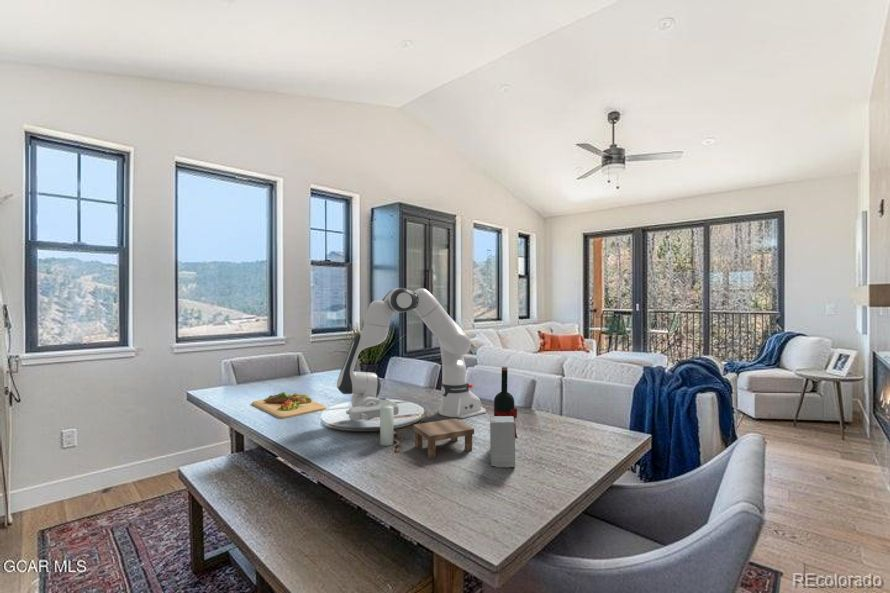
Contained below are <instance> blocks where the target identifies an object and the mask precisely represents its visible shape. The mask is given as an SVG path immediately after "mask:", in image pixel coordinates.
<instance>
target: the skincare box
mask: <svg viewBox="0 0 890 593" xmlns="http://www.w3.org/2000/svg"><path fill="white" fill-rule="evenodd" d="M515 426H516V420H515V421H514V417H513V416H494V415H490V419H489V434H490V435H489V436H490V437H489V438H490V439H489V440H490V441H489V442H490V443H489V444H490V445H489V446H490V449H489V450H490V466H496V467H495V468H509V467H515V468H516V439H515Z"/></svg>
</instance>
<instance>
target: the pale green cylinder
mask: <svg viewBox="0 0 890 593" xmlns="http://www.w3.org/2000/svg"><path fill="white" fill-rule="evenodd" d="M394 417H395V415H394V406H392V405H383V406H380V417H379V421H380V422H379V426H380V427H379V428H380V429H379V445H380V446H386V447H389V446H392V445H393V444H394Z"/></svg>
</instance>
